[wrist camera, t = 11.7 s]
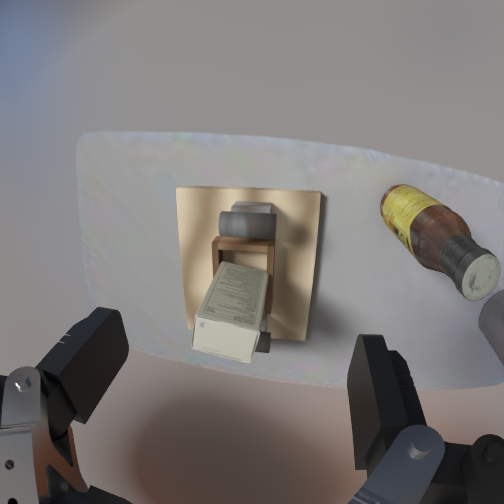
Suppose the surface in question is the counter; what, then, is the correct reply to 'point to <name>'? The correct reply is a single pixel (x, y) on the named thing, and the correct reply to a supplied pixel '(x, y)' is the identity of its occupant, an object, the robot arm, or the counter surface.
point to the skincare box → (231, 313)
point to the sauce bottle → (440, 240)
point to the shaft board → (252, 249)
